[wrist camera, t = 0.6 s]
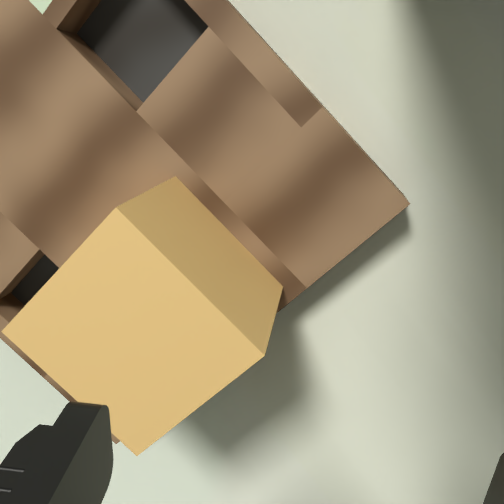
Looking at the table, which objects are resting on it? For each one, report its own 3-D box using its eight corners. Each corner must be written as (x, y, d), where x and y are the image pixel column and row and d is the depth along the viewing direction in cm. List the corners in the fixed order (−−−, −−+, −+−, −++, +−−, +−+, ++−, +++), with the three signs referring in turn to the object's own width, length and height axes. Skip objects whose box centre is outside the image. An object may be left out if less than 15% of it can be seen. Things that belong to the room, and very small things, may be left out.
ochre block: (283, 286, 28) (265, 355, 21) (183, 369, 31) (136, 455, 24) (175, 176, 27) (115, 207, 20) (83, 272, 30) (1, 331, 23)
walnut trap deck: (403, 194, 28) (410, 204, 26) (129, 421, 37) (116, 444, 34) (64, -181, 25) (36, -209, 23) (-149, 163, 34) (-185, 168, 31)
